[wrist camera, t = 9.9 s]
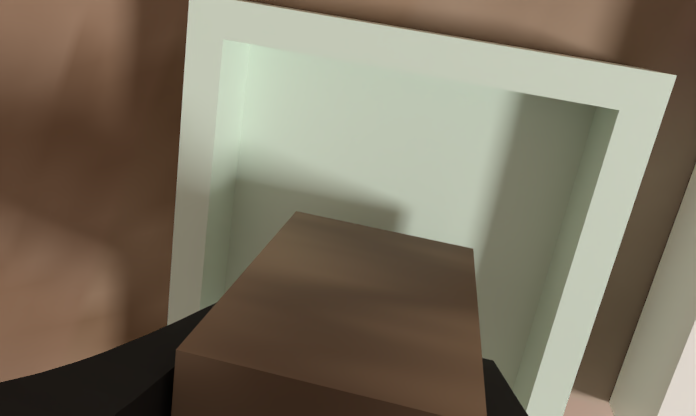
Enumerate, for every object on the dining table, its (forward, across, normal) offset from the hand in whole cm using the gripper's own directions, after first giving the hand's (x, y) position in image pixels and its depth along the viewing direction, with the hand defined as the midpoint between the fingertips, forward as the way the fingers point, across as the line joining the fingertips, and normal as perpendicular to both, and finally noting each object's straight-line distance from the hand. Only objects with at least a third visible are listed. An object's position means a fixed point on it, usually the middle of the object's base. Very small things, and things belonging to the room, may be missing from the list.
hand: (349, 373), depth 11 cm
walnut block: (+3, 0, 0) cm, 3 cm away
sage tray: (+5, 0, 0) cm, 5 cm away
